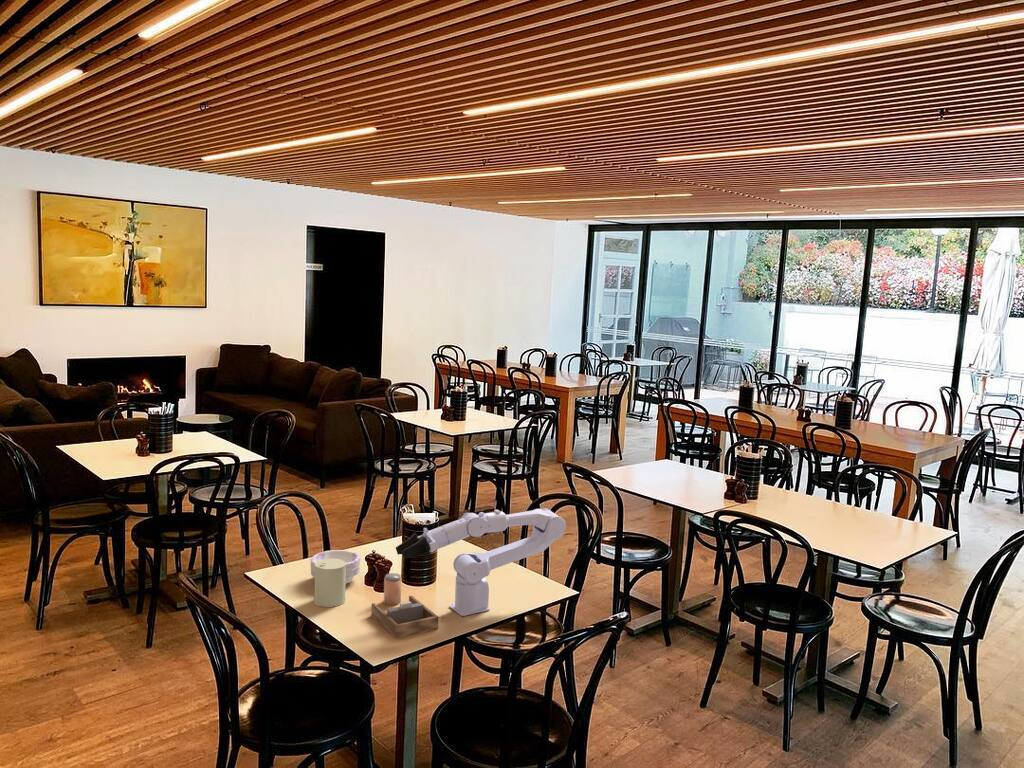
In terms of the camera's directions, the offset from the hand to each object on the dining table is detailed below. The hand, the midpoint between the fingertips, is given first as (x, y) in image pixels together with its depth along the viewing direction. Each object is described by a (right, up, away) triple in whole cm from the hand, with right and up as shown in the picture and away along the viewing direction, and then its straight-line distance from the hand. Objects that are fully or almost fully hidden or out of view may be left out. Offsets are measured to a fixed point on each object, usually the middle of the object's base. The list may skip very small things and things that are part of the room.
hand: (399, 553), depth 226 cm
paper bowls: (-24, -15, +28) cm, 40 cm away
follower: (+1, -19, 0) cm, 19 cm away
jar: (-4, -18, +14) cm, 23 cm away
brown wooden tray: (+1, -19, +1) cm, 19 cm away
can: (-22, -17, +13) cm, 31 cm away
